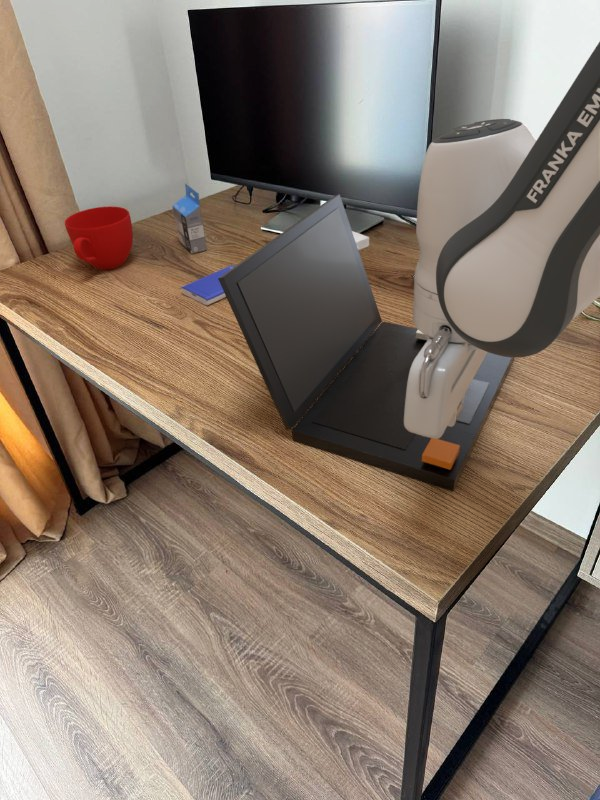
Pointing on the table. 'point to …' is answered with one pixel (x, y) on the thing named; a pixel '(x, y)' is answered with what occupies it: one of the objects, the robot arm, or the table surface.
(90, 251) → the ceramic cup
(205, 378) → the table surface
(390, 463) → the laptop
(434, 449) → the key amber
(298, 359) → the laptop screen
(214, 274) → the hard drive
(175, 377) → the table surface
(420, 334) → the off-white flat block
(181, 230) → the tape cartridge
